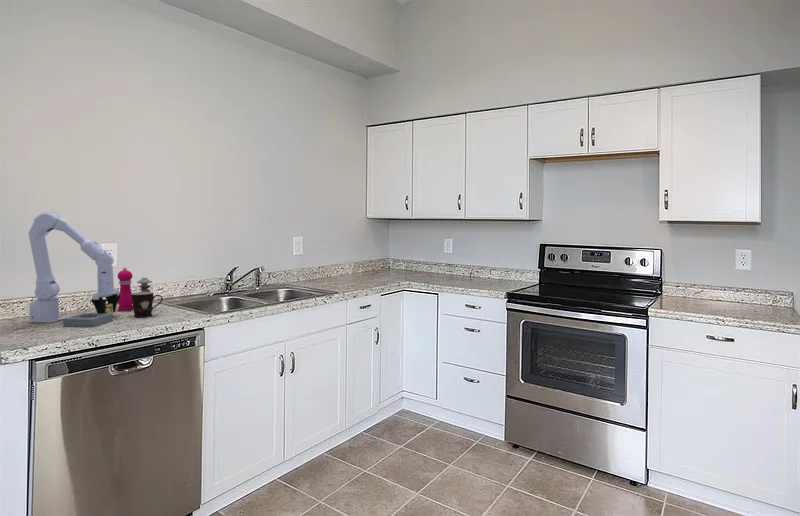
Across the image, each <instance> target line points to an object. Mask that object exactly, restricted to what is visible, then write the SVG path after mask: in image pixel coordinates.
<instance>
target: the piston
mask: <svg viewBox="0 0 800 516" xmlns="http://www.w3.org/2000/svg"><path fill="white" fill-rule="evenodd" d="M104 313H106V314H112V315H113V316H114V312H113V303H108V302H106V304H105V311H104Z"/></svg>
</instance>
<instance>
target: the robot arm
mask: <svg viewBox="0 0 800 516" xmlns="http://www.w3.org/2000/svg"><path fill="white" fill-rule="evenodd" d="M53 230H55V231H59V232H63V233H65V234H66V235H67V236H68V237H70V238H71V239H73V240H74V241H75V242H76V243H77V244H79V245H80V250H81V251H82V252H83V253H84V254H85V255H86V256H88V257H89V258H90V259H91V260H92V261H95V265H96V266H97V271H96V272H97V293H94V294H92V298H91V299H90V301H91V303H92V305H93V307H94V308H95V310H96V313H104V311H105V304H106V303H113V313H116V309H117V307H118V306H117V305H118V300H119V299H120V295H119V292H120V290H119V289H115V287H114V270H113V269H114V266H113V264H114V262H115V260H114V256H113V255H112V254H111V253H109V252H108V251H107V250H106V249H105V250H104V249H103V247H101V246H100V245H98V244H99V243H98V241H96V240H95V241H94V240H93V239H87V238H86V237H85V236H84V235H82V233H81V232H79V231H78V230H77V229H76V228H75V227H74V226H73V225H72V224H71V223H70V222H69V221H67V219H65V218H64V217H61V216H60V214H58V213H54V212H42V213H39V214H38V215H37V216H36V217H35V218H33V223H32V224H31V227H30V229H29V231H28V238H29V243H30V249H31V254H32V258H33V259H32V260H33V264H34V268H35V274H36V281H35V290H34V295H35V297H36V299H32V300H31V301H30V303H29V307H28V308H29V310H28V311H29V320H28V321H27V322H28V323H55V322H57V321H58V322H59V321H63V319H64V318H65V317H60V301H59V298H60V297H59V296H58V294H59V293H60V290H61V289H60V285H59V284H58V283H57V281H56V278H55V277H54V275H53V272H52V267H51V261H50V256H49V255H50V254H49V252H48V251H49V250H48V246H47V240H46V236H48V234H49V233H50V232H51V231H53ZM104 298H105V299H104Z"/></svg>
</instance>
